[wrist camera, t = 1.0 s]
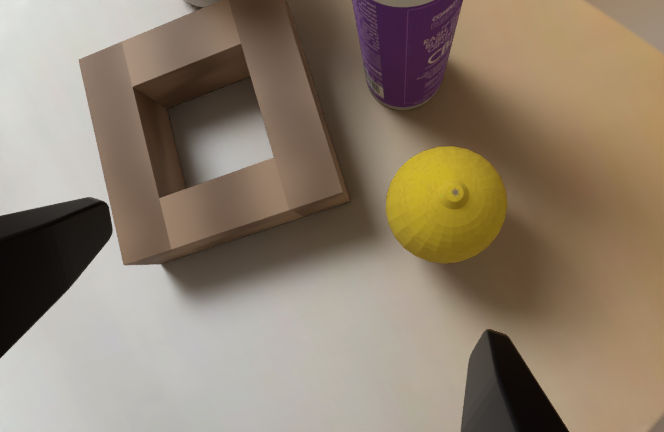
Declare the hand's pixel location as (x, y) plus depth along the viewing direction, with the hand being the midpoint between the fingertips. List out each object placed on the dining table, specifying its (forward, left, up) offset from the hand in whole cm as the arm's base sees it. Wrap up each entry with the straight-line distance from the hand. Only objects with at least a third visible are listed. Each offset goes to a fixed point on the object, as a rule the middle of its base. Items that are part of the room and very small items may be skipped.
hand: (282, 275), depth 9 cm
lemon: (+5, +1, -15) cm, 16 cm away
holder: (-6, +10, -15) cm, 19 cm away
